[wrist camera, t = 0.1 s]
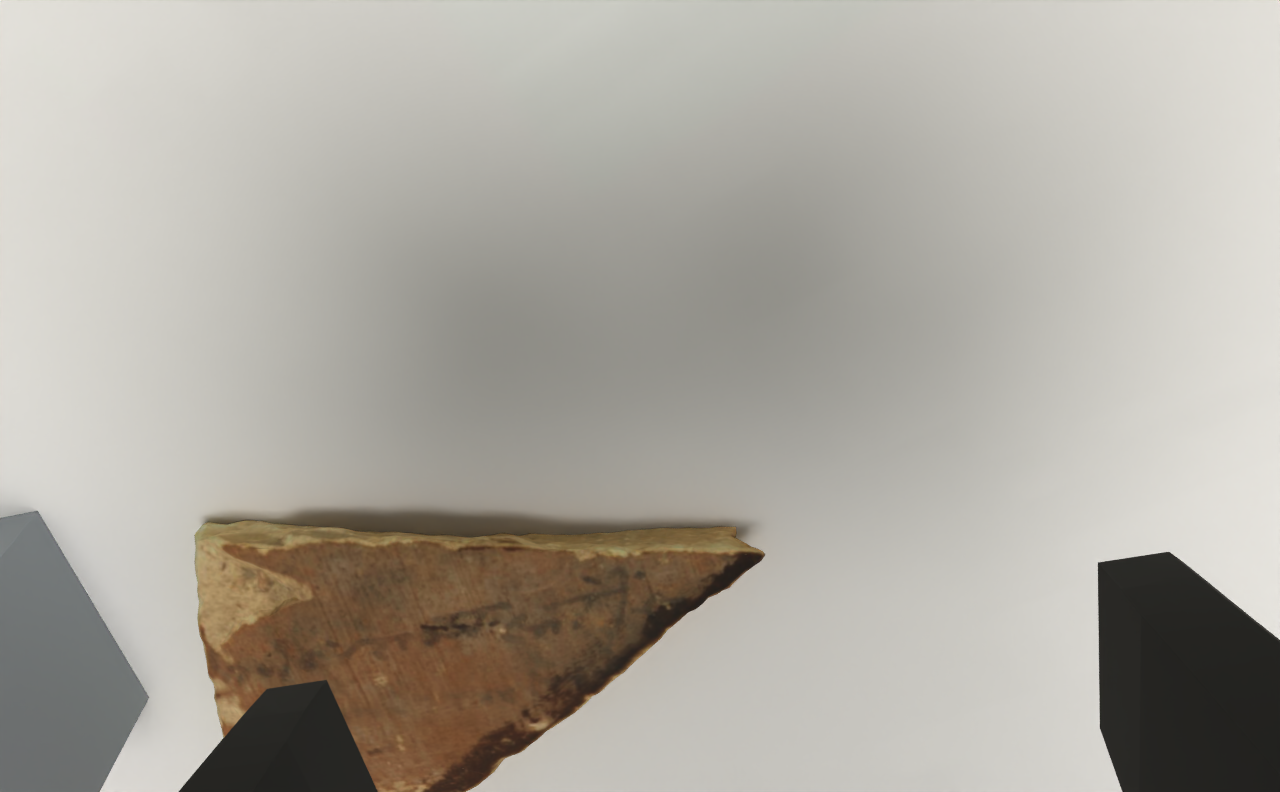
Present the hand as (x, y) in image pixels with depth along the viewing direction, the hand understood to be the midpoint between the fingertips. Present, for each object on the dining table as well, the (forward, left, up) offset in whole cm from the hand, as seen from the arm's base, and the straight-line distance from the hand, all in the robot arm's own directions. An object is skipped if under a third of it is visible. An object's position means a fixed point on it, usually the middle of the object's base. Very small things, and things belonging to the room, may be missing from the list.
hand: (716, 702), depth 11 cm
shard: (-6, +7, -11) cm, 14 cm away
